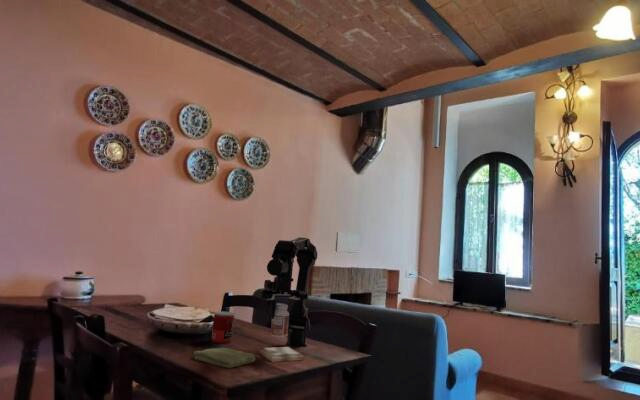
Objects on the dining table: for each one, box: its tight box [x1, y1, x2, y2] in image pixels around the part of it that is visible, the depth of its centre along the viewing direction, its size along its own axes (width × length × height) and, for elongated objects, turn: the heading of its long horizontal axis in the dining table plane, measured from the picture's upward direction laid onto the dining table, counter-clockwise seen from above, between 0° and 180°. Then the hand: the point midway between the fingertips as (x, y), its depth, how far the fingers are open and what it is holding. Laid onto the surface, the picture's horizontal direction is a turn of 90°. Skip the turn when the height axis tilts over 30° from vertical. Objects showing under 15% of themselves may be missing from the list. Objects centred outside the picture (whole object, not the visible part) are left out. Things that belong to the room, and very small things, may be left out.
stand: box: [258, 346, 305, 363], centre depth 149 cm, size 12×12×2 cm
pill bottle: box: [270, 303, 289, 338], centre depth 152 cm, size 6×6×11 cm
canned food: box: [211, 310, 235, 345], centre depth 166 cm, size 8×8×11 cm
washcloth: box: [193, 347, 256, 369], centre depth 139 cm, size 13×18×3 cm
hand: (280, 318), depth 152 cm, fingers closed on pill bottle, 6 cm apart
